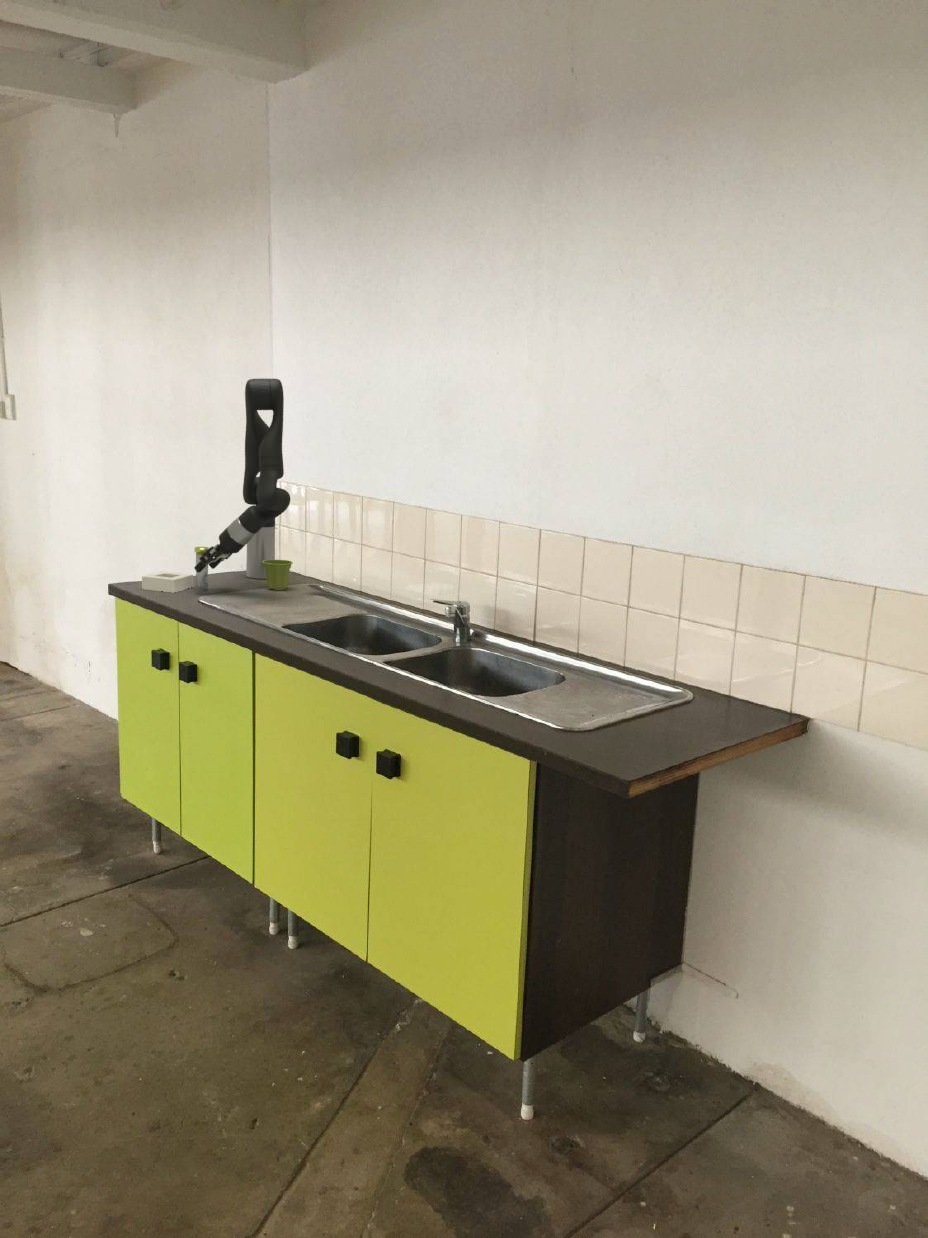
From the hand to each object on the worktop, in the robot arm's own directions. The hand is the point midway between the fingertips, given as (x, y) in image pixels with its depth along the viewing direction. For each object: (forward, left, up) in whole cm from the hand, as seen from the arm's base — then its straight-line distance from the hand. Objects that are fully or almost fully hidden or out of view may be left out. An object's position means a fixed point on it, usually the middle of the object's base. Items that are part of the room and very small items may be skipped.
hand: (203, 568), depth 319 cm
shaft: (0, -1, -7) cm, 7 cm away
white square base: (+3, -11, -7) cm, 13 cm away
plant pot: (-15, +17, -7) cm, 24 cm away
